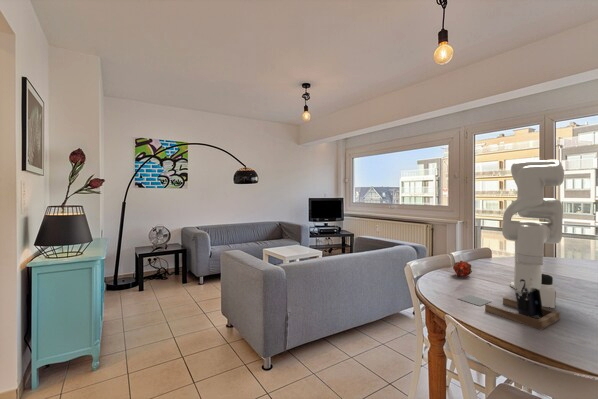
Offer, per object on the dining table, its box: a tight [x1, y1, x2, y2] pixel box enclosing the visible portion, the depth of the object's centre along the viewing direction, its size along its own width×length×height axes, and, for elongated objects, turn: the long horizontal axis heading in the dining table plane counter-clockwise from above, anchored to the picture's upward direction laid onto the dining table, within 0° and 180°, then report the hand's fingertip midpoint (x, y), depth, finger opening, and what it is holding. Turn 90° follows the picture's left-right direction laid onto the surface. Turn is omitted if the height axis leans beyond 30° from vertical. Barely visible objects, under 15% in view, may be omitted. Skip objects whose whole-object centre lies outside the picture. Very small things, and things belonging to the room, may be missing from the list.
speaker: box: [514, 289, 544, 319], centre depth 106 cm, size 8×6×10 cm
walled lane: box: [484, 296, 561, 330], centre depth 108 cm, size 15×18×2 cm
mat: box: [457, 294, 492, 307], centre depth 123 cm, size 9×9×1 cm
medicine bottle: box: [539, 273, 557, 309], centre depth 119 cm, size 7×7×12 cm
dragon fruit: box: [453, 260, 473, 278], centre depth 158 cm, size 8×8×12 cm
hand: (528, 307), depth 106 cm, fingers closed on speaker, 6 cm apart
